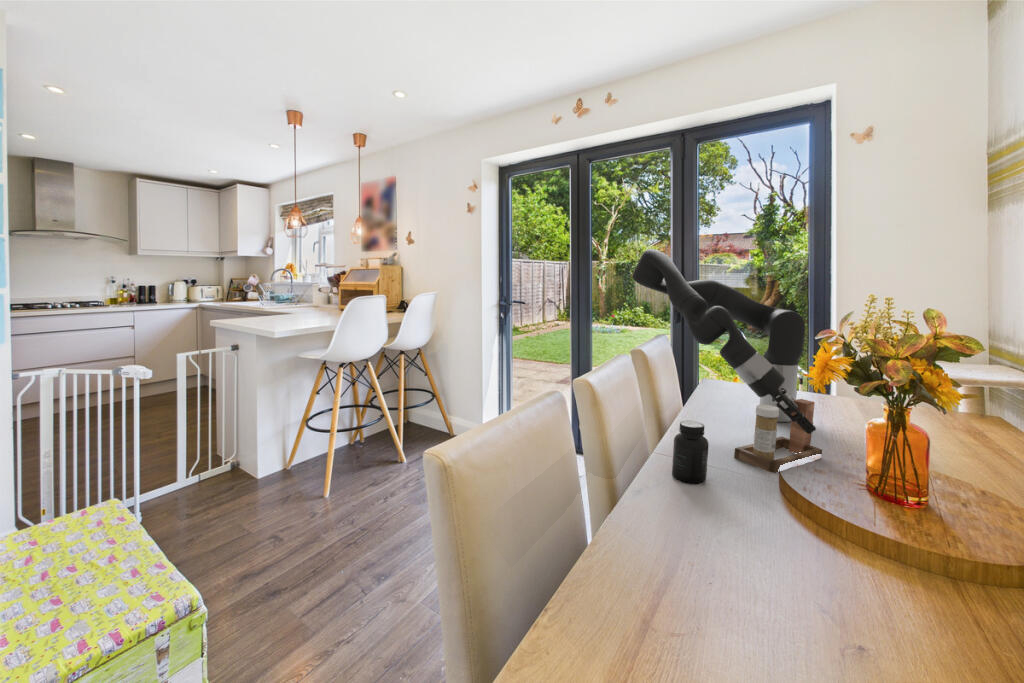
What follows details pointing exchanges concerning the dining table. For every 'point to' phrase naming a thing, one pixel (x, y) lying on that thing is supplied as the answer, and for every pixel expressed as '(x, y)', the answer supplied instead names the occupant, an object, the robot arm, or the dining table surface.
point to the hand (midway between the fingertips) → (811, 428)
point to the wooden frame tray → (784, 443)
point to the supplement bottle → (690, 453)
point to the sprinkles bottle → (765, 430)
